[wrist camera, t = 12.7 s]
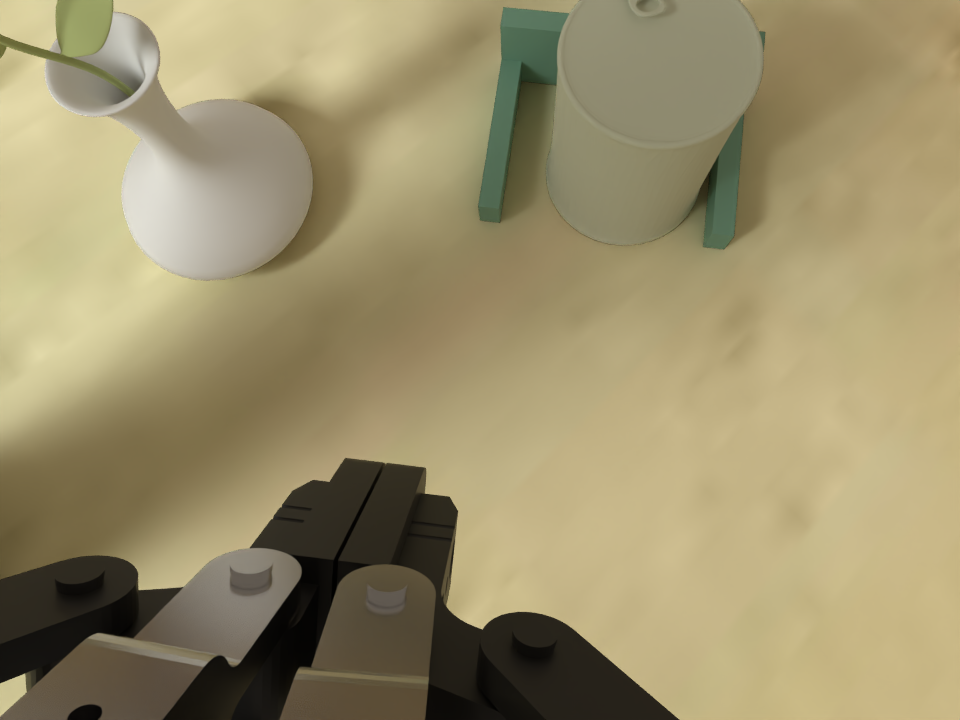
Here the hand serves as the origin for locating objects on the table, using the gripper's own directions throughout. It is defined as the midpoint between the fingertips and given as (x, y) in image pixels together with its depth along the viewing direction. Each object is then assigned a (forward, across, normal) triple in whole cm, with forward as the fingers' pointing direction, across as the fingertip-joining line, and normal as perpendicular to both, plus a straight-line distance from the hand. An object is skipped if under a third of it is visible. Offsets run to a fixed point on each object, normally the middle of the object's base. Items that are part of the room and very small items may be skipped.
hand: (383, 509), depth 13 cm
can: (+33, -8, -7) cm, 35 cm away
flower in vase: (+32, +17, -3) cm, 36 cm away
